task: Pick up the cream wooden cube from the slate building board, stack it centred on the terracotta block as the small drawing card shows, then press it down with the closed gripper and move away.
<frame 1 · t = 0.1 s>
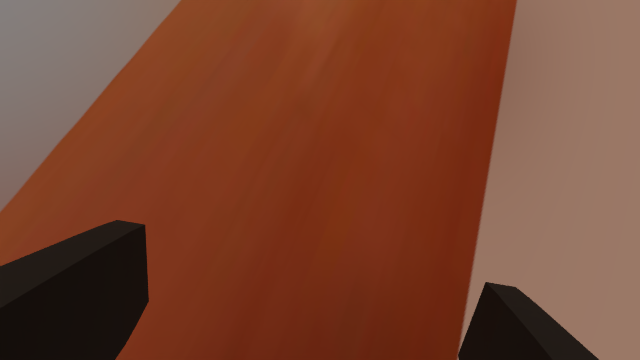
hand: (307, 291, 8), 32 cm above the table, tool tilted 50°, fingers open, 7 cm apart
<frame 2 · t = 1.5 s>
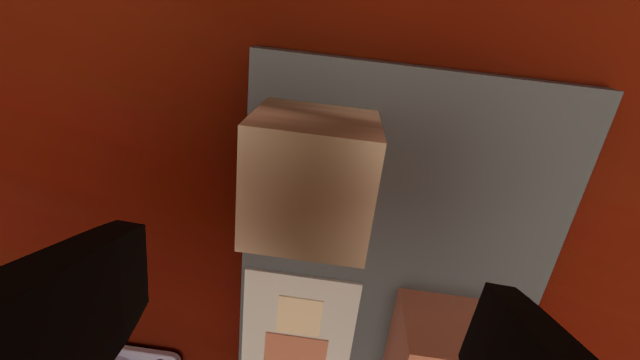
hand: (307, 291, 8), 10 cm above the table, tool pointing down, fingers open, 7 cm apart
terracotta block: (447, 344, 20), point 1 cm above the table, touching build board
build board: (389, 256, 19), on the table
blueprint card: (297, 331, 20), resting on build board
cream cube: (317, 156, 17), point 1 cm above the table, touching build board
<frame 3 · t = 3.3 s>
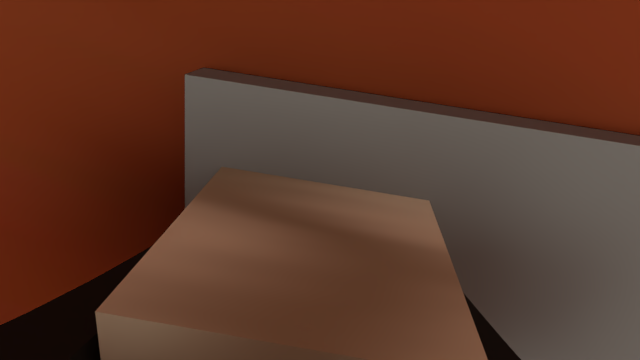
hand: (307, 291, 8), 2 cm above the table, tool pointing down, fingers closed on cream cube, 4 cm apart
cream cube: (311, 269, 9), point 1 cm above the table, touching build board, gripper
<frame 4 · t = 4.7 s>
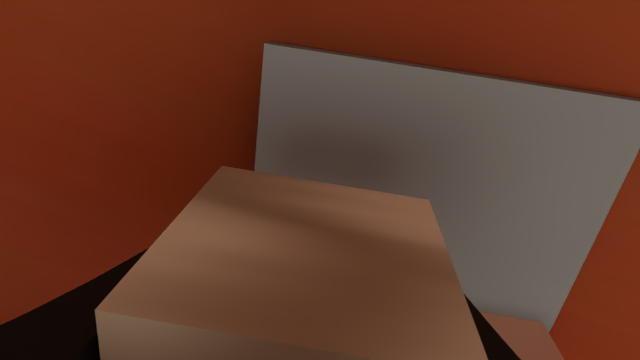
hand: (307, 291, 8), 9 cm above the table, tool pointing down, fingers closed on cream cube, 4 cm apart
terracotta block: (457, 359, 19), point 1 cm above the table, touching build board
build board: (401, 266, 18), on the table
cream cube: (311, 268, 9), point 8 cm above the table, touching gripper
when the fingers open (7 cm above the table, at t = 6.3 s): cream cube stays where it is, resting on terracotta block.
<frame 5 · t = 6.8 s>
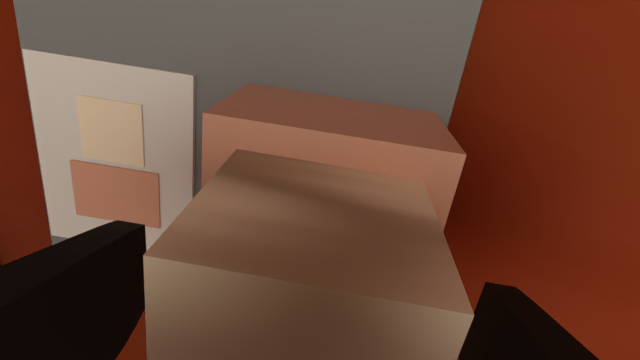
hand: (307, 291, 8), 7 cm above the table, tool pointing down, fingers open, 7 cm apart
terracotta block: (327, 183, 14), point 1 cm above the table, touching build board, cream cube
build board: (242, 45, 13), on the table
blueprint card: (118, 161, 14), resting on build board
cream cube: (316, 244, 10), point 5 cm above the table, touching terracotta block
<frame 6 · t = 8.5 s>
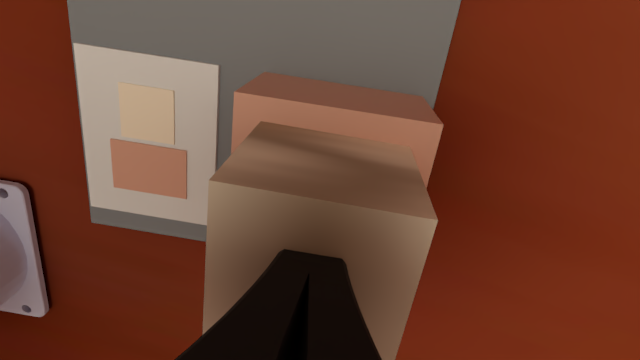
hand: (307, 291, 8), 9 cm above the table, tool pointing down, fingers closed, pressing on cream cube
terracotta block: (331, 158, 16), point 1 cm above the table, touching build board, cream cube
build board: (259, 40, 16), on the table
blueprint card: (151, 140, 17), resting on build board
cream cube: (323, 200, 12), point 5 cm above the table, touching gripper, terracotta block
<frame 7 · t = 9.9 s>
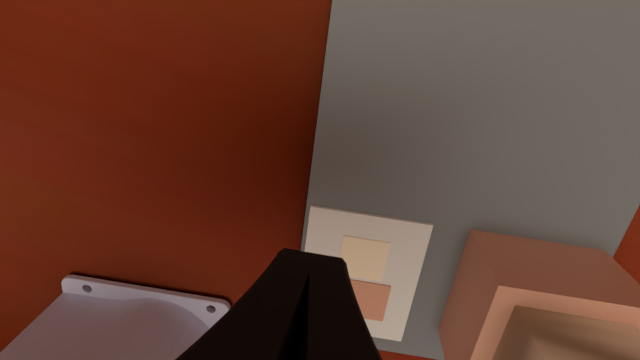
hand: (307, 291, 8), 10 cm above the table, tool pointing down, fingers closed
terracotta block: (515, 292, 19), point 1 cm above the table, touching build board, cream cube
build board: (459, 198, 19), on the table
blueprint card: (358, 276, 20), resting on build board
cream cube: (552, 358, 15), point 5 cm above the table, touching terracotta block
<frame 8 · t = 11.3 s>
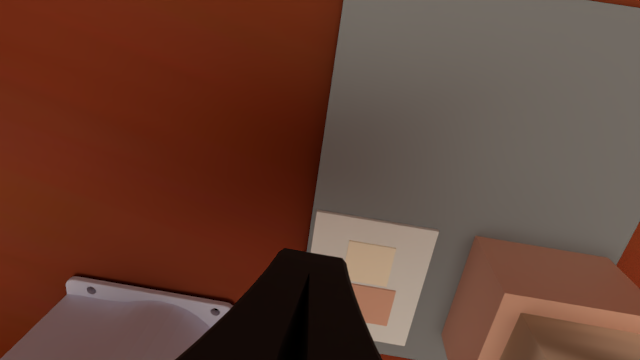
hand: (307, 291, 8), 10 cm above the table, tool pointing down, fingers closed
terracotta block: (519, 298, 19), point 1 cm above the table, touching build board, cream cube
build board: (465, 204, 19), on the table
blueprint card: (363, 280, 20), resting on build board
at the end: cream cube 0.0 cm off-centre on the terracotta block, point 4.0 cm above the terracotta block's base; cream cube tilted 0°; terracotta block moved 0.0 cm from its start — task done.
